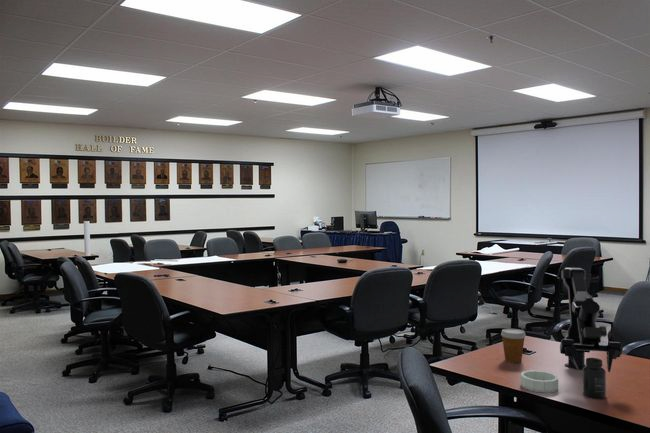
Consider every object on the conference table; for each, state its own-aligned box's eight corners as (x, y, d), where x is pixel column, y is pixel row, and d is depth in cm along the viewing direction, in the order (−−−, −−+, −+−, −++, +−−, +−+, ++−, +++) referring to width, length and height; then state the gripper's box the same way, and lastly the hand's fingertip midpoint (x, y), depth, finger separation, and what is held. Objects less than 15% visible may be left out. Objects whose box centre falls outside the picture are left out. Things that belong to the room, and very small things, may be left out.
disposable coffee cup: (495, 358, 219) (495, 329, 219) (514, 356, 222) (514, 327, 222) (511, 364, 210) (511, 334, 210) (530, 362, 214) (530, 332, 213)
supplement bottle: (606, 394, 176) (607, 358, 176) (605, 400, 171) (605, 363, 170) (584, 390, 180) (584, 355, 180) (581, 396, 174) (581, 360, 174)
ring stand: (533, 378, 193) (533, 368, 193) (565, 387, 183) (565, 376, 183) (513, 385, 186) (513, 374, 186) (546, 395, 176) (546, 383, 176)
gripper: (561, 315, 183) (566, 355, 173) (621, 318, 178) (630, 360, 168) (557, 333, 191) (562, 372, 180) (615, 336, 186) (623, 377, 175)
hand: (594, 370), depth 176 cm, fingers open, 9 cm apart
